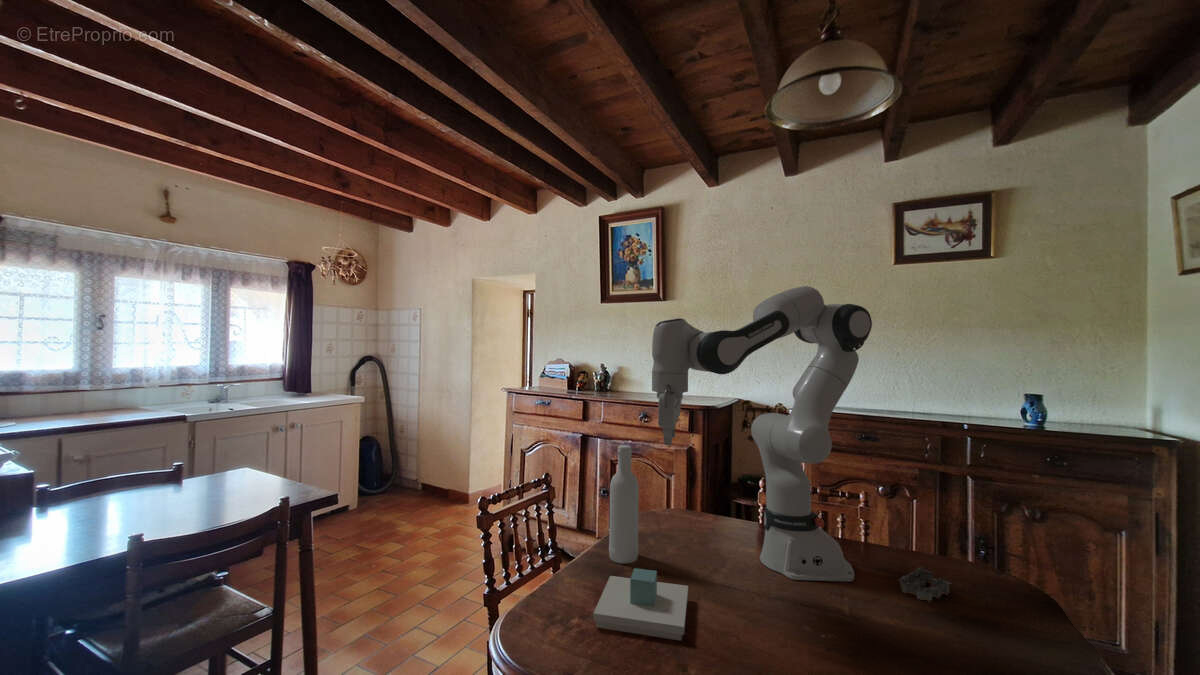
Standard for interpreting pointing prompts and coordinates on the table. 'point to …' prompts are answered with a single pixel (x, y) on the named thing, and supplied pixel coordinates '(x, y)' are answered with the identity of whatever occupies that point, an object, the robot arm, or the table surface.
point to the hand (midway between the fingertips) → (669, 440)
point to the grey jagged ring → (923, 584)
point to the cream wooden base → (643, 610)
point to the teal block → (643, 587)
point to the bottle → (624, 510)
